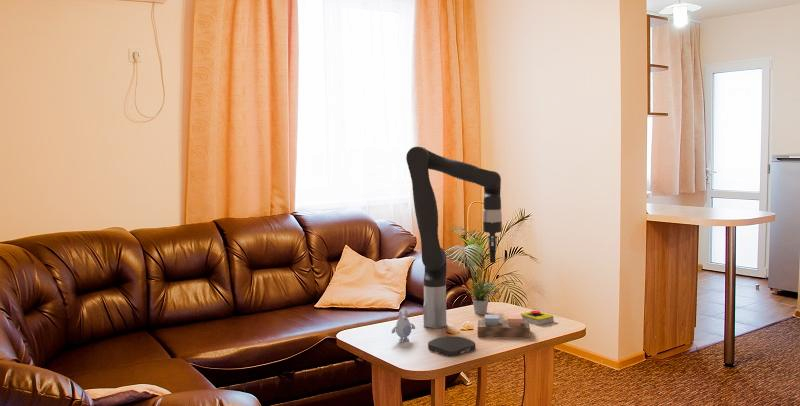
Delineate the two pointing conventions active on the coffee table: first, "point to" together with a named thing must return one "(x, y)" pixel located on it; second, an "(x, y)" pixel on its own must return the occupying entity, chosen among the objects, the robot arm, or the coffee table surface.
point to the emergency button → (538, 318)
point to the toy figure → (403, 327)
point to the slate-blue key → (491, 319)
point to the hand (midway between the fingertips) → (492, 262)
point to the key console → (503, 330)
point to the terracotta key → (514, 320)
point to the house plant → (480, 296)
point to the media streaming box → (451, 346)
